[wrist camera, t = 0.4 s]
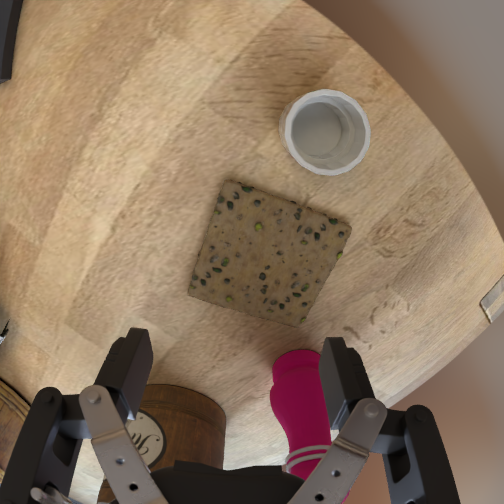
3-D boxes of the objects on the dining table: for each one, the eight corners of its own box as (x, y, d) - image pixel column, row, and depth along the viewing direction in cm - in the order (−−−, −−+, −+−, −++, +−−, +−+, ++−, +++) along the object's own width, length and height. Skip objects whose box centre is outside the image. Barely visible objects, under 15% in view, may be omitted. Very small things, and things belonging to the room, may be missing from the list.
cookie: (186, 294, 29) (184, 299, 28) (224, 176, 24) (223, 178, 23) (298, 327, 31) (299, 333, 30) (353, 225, 26) (356, 228, 25)
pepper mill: (310, 389, 36) (332, 532, 18) (258, 379, 34) (262, 535, 16) (339, 353, 33) (382, 511, 15) (283, 339, 32) (304, 520, 14)
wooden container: (144, 367, 34) (97, 527, 14) (245, 408, 37) (243, 557, 18) (118, 413, 39) (84, 529, 19) (200, 445, 43) (189, 558, 23)
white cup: (280, 90, 21) (288, 84, 16) (350, 100, 21) (374, 97, 17) (275, 160, 24) (281, 171, 19) (344, 167, 24) (364, 179, 19)
